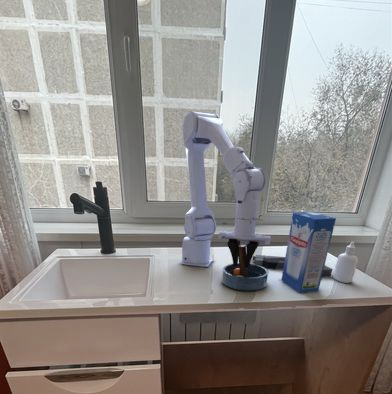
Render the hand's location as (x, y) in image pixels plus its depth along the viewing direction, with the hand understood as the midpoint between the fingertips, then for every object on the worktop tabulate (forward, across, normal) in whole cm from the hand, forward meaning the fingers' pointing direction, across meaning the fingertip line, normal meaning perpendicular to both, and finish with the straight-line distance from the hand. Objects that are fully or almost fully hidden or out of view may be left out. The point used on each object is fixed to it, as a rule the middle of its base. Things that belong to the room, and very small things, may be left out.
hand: (241, 265), depth 85 cm
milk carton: (+5, -17, -6) cm, 18 cm away
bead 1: (+3, +1, -2) cm, 4 cm away
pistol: (+5, -12, -20) cm, 24 cm away
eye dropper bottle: (+5, -28, -17) cm, 33 cm away
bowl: (+5, -1, +1) cm, 5 cm away
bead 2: (+3, -1, +4) cm, 5 cm away
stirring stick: (+3, -1, 0) cm, 3 cm away
